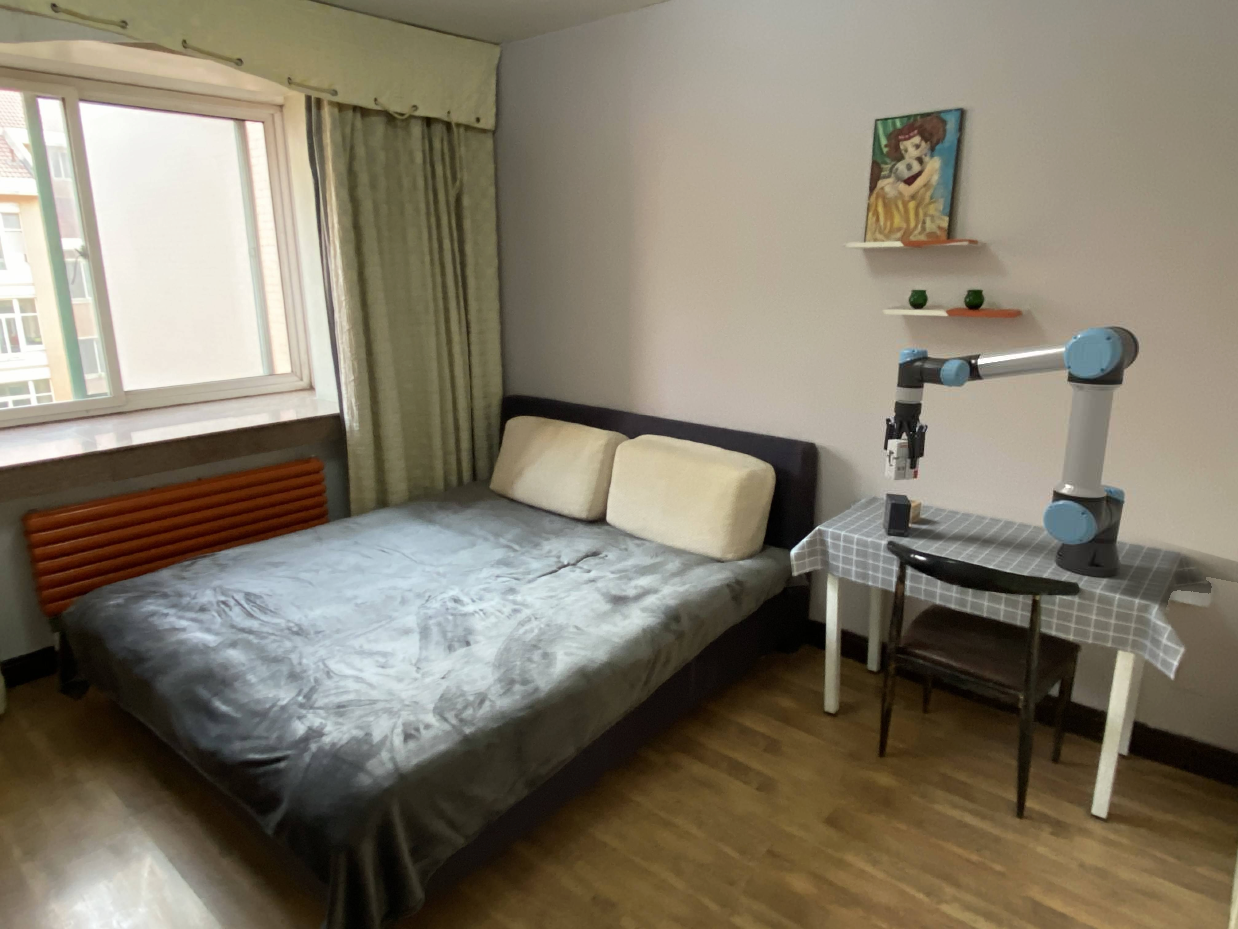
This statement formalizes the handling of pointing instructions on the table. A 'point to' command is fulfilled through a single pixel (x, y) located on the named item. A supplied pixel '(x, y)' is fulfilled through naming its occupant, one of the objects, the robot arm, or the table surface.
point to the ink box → (898, 459)
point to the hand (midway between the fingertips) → (900, 476)
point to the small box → (897, 515)
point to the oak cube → (914, 511)
